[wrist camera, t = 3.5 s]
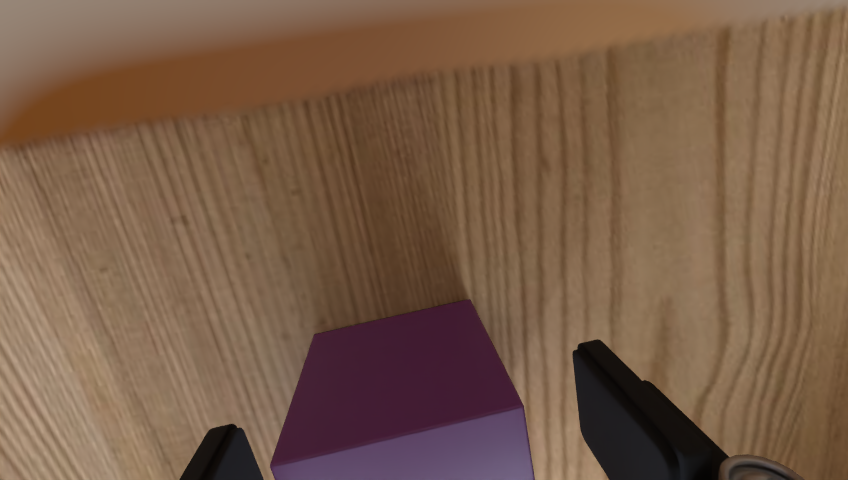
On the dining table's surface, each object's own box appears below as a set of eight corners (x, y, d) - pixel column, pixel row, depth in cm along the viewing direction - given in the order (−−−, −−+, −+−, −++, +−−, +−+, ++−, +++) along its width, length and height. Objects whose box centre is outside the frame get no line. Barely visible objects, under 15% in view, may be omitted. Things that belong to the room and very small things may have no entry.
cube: (353, 459, 13) (337, 637, 9) (313, 333, 12) (268, 466, 7) (493, 425, 13) (551, 583, 9) (469, 298, 12) (524, 404, 7)
